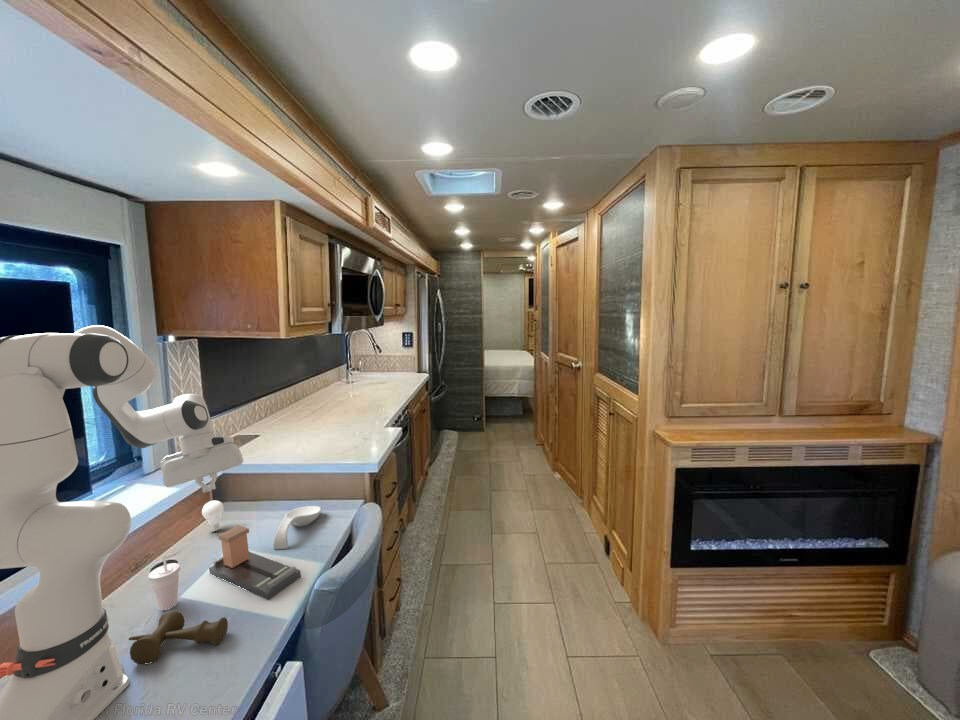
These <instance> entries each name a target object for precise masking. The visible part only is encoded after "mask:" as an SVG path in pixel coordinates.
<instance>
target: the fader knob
mask: <svg viewBox="0 0 960 720" xmlns="http://www.w3.org/2000/svg"><path fill="white" fill-rule="evenodd" d="M249 533H250V528H248V527H245V526H243V525H236V526H234V527H231V528H230V529H228V530H226V531H224V532H222V533H220V534H218V535H217V538H218V540H219V541H221V548H222V549H221V550H222V557H223V560H224V565H226V566H229V567H231V568H233V567H235V566H237V565H239V564H240V563H242V562H244V561H245V560H247V559H249V552H250V551H249V544H248V541H249V540H248V534H249Z"/></svg>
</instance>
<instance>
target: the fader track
mask: <svg viewBox="0 0 960 720" xmlns="http://www.w3.org/2000/svg"><path fill="white" fill-rule="evenodd" d="M212 563H213V564H212V565H211V566H210V567H208V569H209V570H208V571H209V575H210V574H212V575H214V576H216V577H215V578H217V577H219V578H221V579H224V580H226V581H228V582H231V583H233V584H235V585H237V586H240V587H241V588H240V589H242V588H244V589H246V590H247V592H248V591H249V593H251V594H253V595H255V596H258V597H260V598H262V599H265V600H267V601H269V600H271V599H272V598H273V597H275V596H276V595H278V594H279V593H280V592H282V591H284V590H285V589H286V588H287V587H290V585H293V583H295V582H296V581H298V580H299V579H301V577H302V573H301V570H300V569H298V568H296V566H290V565H287V564H284V563H281V562H279V561H276V560H273V559H270V558H268V557H265V556H263V555H260V554H257V553H254V552H251V551H249V559H247V560H245V561H244V562H242V563H240V564H239V565H237V566H235V567H233V568H231V567H229V566H226V565H224V560H223V556H221V557H219V558H217V559H215V560H213V561H212ZM212 575H211V576H212ZM214 576H213V577H214ZM219 578H218V579H219ZM221 579H220V580H221ZM224 580H223V581H224ZM226 581H225V582H226ZM228 582H227V583H228ZM233 584H232V585H233ZM235 585H234V586H235ZM237 586H236V587H237ZM244 589H243V590H244ZM246 590H245V591H246Z"/></svg>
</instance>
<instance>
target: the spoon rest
mask: <svg viewBox="0 0 960 720" xmlns="http://www.w3.org/2000/svg"><path fill="white" fill-rule="evenodd" d="M321 512H322V508H321V506H318V505H307V506H301V507H300V506H299V507H297V508H296V507H295V508H294V509H292V510H290V511H288V512H286V513H285V515H284V518H283V519H282V520H281V522H280V523H279V525H278V527H277V529H276V532H275V536H274V539H273V544H272V545H273V546H272V548H273V550H288V549H289V541H288V531H289V528H290V526H291V525H293V526H295V527H298V528H299V527H305V526H309V525H310V524H311V523H313V522H314V521H315V520H316V519H318V517H319V516H320V514H321Z"/></svg>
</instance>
